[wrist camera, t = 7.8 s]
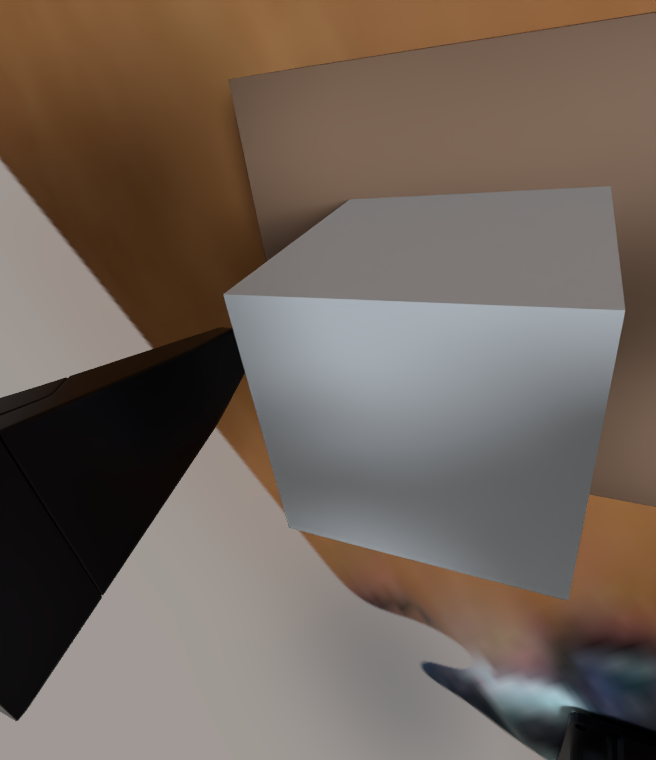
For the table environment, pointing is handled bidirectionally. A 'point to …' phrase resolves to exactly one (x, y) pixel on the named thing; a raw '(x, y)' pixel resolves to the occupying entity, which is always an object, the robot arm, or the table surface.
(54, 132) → the table surface
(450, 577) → the table surface
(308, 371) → the grey-blue block
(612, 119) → the brown block
